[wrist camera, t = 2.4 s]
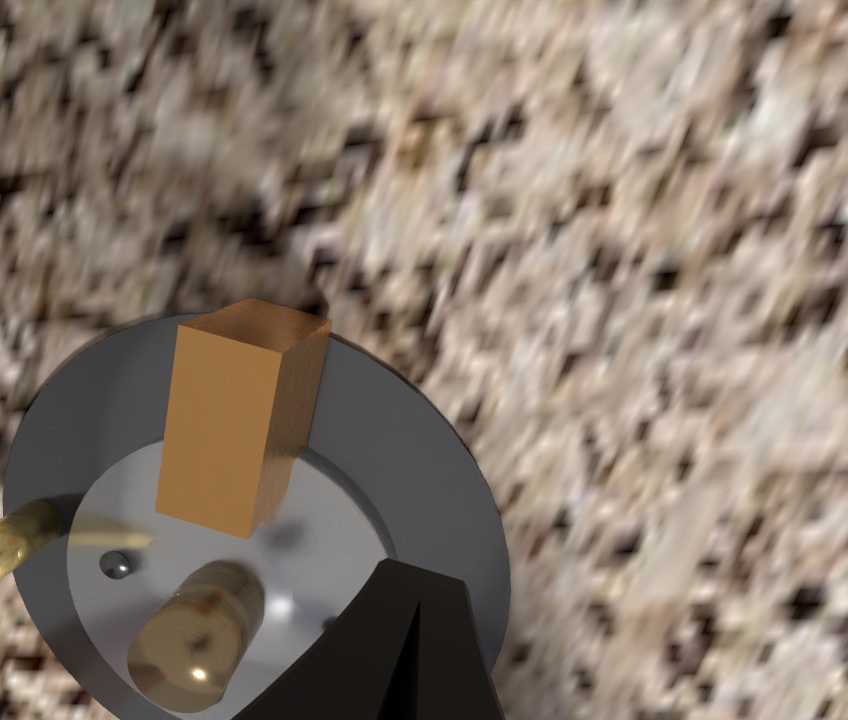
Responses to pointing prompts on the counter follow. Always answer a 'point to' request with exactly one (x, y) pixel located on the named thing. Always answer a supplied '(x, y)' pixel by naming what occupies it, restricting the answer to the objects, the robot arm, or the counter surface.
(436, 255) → the counter surface
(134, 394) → the post base
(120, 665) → the flange plate
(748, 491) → the counter surface
